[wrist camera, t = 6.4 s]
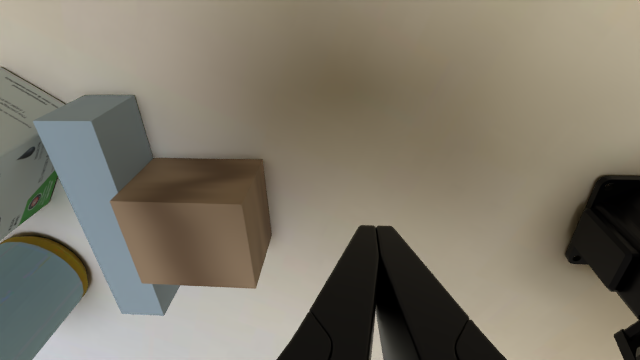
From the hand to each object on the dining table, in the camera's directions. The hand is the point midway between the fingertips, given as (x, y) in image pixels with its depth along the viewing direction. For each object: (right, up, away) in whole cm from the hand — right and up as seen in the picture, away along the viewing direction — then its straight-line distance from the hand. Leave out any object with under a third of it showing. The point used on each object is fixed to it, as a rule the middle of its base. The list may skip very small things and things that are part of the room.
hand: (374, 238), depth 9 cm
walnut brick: (-8, 0, +15) cm, 17 cm away
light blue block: (-13, 0, +15) cm, 20 cm away
